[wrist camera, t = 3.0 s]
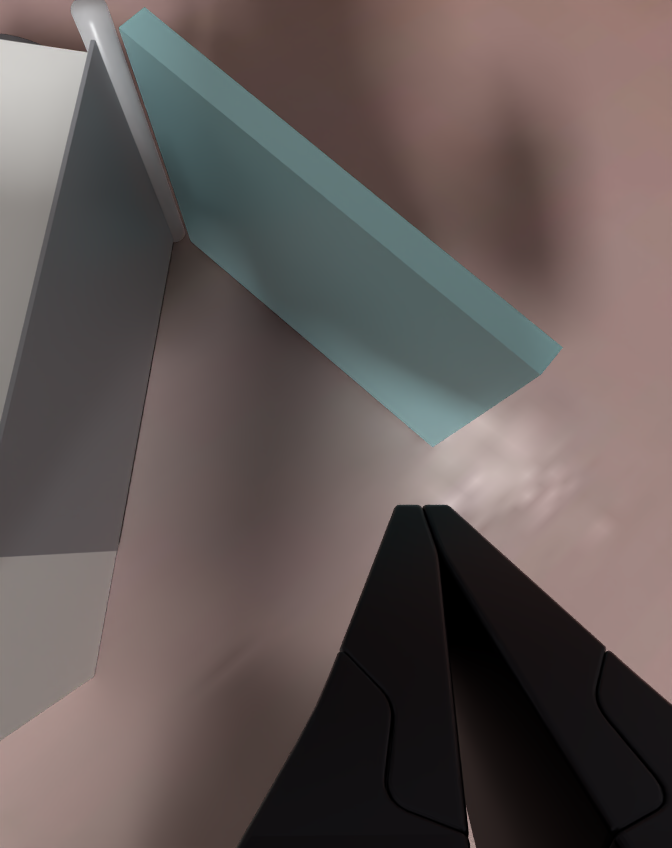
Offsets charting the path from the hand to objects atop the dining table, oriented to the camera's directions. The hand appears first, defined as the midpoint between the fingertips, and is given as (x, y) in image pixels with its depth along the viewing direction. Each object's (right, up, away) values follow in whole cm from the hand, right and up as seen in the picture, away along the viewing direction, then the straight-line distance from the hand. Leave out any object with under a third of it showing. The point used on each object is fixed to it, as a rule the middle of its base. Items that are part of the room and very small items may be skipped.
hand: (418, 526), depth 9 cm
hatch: (-2, +5, +12) cm, 13 cm away
